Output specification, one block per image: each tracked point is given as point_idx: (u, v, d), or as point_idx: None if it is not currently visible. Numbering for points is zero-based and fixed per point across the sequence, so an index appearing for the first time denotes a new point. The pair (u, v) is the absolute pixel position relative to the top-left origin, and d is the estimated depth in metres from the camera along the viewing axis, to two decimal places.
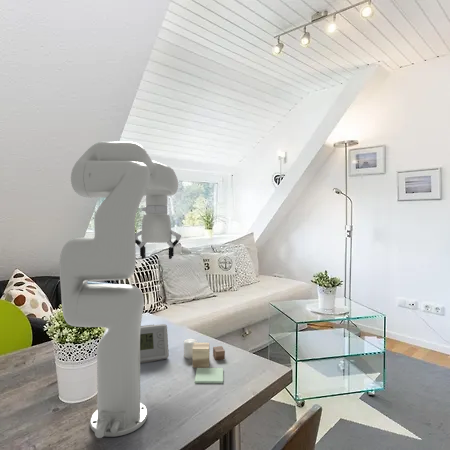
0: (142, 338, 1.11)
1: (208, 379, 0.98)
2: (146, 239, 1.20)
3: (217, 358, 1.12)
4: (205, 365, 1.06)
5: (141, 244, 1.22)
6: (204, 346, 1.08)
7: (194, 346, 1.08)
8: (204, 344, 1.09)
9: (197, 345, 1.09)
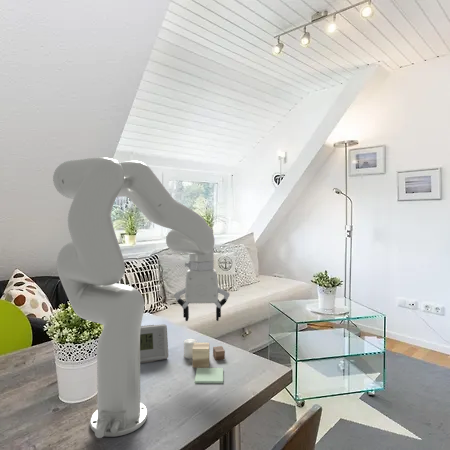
0: (142, 338, 1.11)
1: (208, 379, 0.98)
2: (191, 300, 1.05)
3: (217, 358, 1.12)
4: (205, 365, 1.06)
5: (185, 304, 1.07)
6: (204, 346, 1.08)
7: (194, 346, 1.08)
8: (204, 344, 1.09)
9: (197, 345, 1.09)
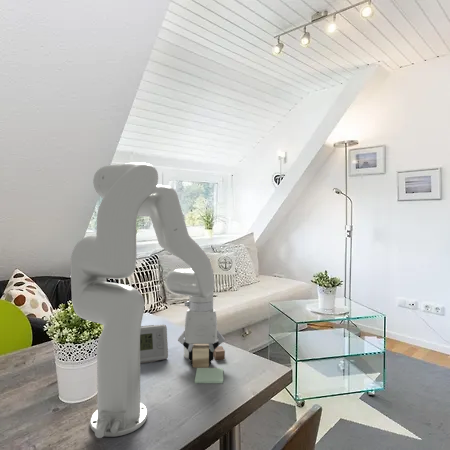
0: (142, 339, 1.11)
1: (208, 379, 0.98)
2: (190, 340, 1.06)
3: (217, 358, 1.12)
4: (205, 365, 1.06)
5: (190, 348, 1.07)
6: (204, 346, 1.08)
7: (194, 346, 1.08)
8: (204, 344, 1.10)
9: (197, 345, 1.09)
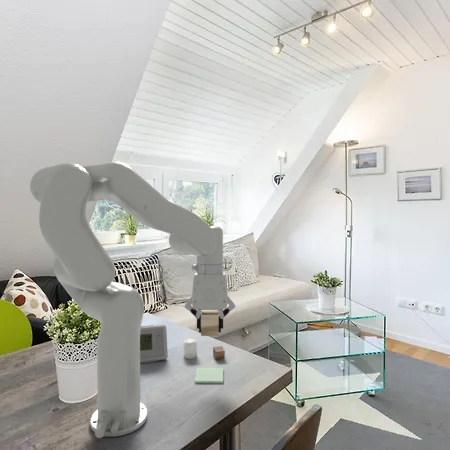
0: (141, 339, 1.10)
1: (208, 379, 0.98)
2: (198, 306, 0.97)
3: (217, 358, 1.12)
4: (215, 333, 0.98)
5: (198, 315, 0.99)
6: (214, 312, 0.99)
7: (202, 313, 0.99)
8: (213, 311, 1.01)
9: (206, 312, 1.00)
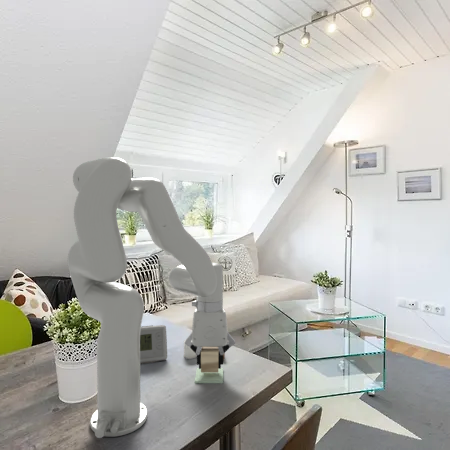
0: (141, 339, 1.10)
1: (208, 379, 0.98)
2: (198, 343, 0.98)
3: None
4: (214, 369, 0.98)
5: (198, 351, 0.99)
6: (213, 349, 1.00)
7: (202, 349, 1.00)
8: None
9: (206, 347, 1.01)
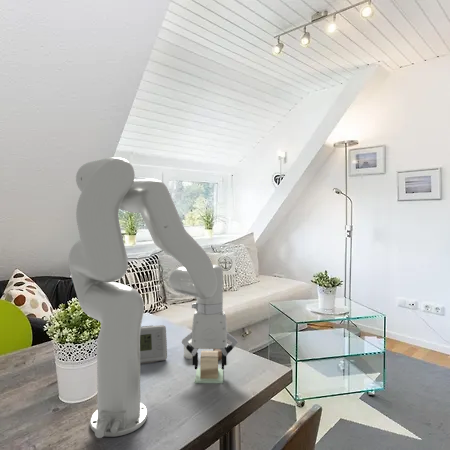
0: (141, 339, 1.10)
1: (208, 379, 0.98)
2: (198, 345, 0.98)
3: None
4: (214, 375, 0.98)
5: (194, 351, 0.99)
6: (213, 355, 1.00)
7: (202, 355, 1.00)
8: (213, 352, 1.01)
9: (205, 353, 1.01)
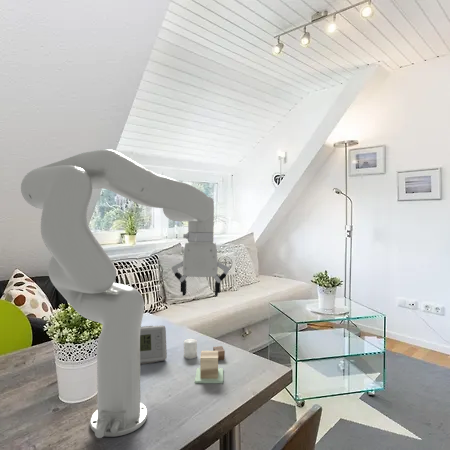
0: (140, 339, 1.10)
1: (208, 379, 0.98)
2: (188, 272, 1.00)
3: None
4: (214, 375, 0.98)
5: (182, 278, 1.02)
6: (213, 355, 1.00)
7: (202, 355, 1.00)
8: (213, 352, 1.01)
9: (205, 353, 1.01)
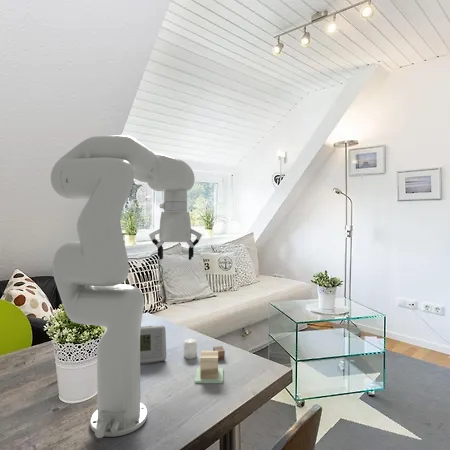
0: (140, 339, 1.10)
1: (208, 379, 0.98)
2: (164, 238, 1.11)
3: None
4: (214, 375, 0.98)
5: (159, 244, 1.13)
6: (213, 355, 1.00)
7: (202, 355, 1.00)
8: (213, 352, 1.01)
9: (205, 353, 1.01)
